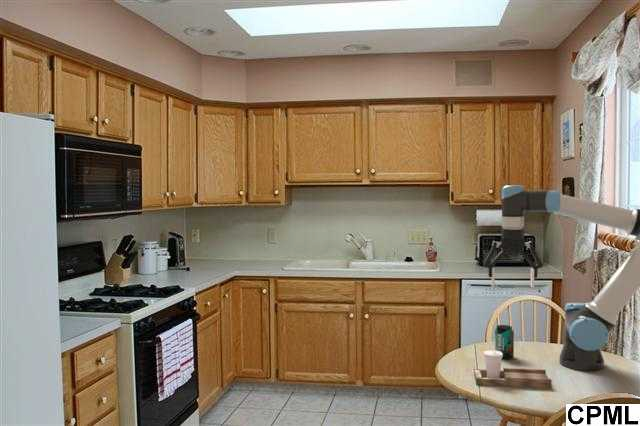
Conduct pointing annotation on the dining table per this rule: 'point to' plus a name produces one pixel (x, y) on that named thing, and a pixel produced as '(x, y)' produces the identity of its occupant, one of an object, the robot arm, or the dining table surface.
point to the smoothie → (493, 363)
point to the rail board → (515, 378)
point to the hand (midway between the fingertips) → (512, 286)
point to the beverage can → (504, 341)
